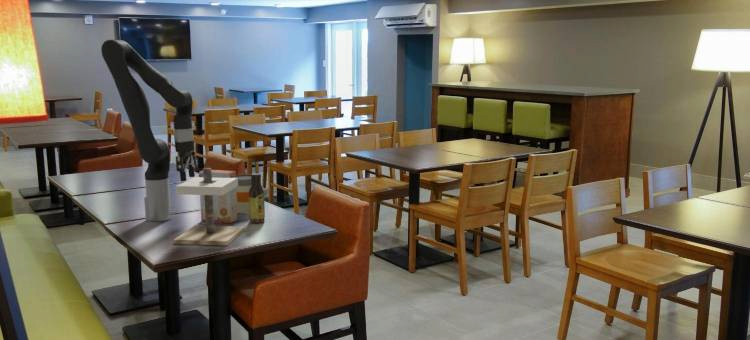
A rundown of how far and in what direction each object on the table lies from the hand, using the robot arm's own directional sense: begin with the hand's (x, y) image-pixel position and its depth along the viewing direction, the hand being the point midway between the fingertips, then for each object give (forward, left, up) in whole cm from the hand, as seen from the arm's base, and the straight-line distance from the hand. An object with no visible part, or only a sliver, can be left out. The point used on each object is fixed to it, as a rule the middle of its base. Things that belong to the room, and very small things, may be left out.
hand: (187, 179), depth 257 cm
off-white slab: (+18, -23, +1) cm, 29 cm away
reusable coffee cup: (+18, +18, -18) cm, 31 cm away
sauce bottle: (+29, 0, -18) cm, 34 cm away
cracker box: (+13, 0, -18) cm, 22 cm away
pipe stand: (+18, -23, -17) cm, 34 cm away
